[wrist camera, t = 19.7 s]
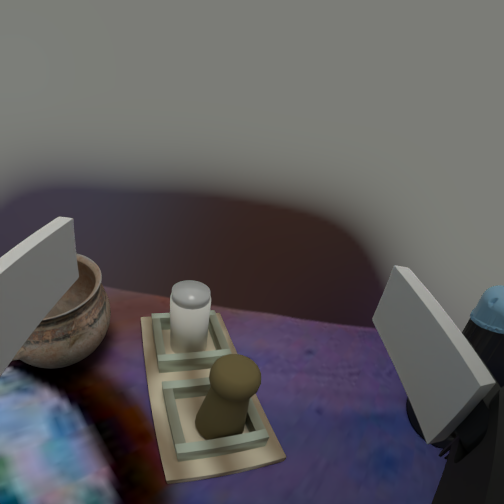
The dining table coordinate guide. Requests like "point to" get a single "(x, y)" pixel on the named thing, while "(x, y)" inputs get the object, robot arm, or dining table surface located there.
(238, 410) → the pepper mill
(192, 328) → the salt shaker
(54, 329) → the cooking pot
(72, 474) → the dining table surface
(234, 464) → the condiment caddy
